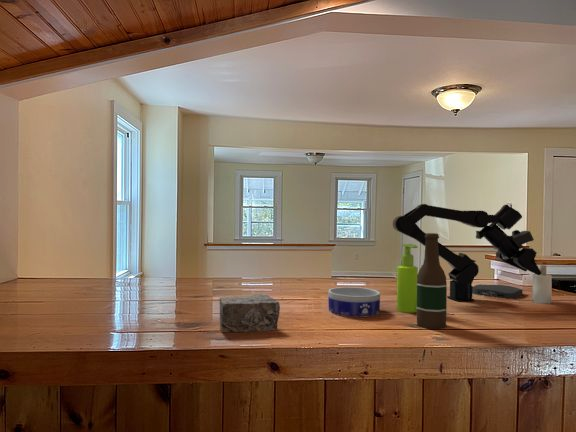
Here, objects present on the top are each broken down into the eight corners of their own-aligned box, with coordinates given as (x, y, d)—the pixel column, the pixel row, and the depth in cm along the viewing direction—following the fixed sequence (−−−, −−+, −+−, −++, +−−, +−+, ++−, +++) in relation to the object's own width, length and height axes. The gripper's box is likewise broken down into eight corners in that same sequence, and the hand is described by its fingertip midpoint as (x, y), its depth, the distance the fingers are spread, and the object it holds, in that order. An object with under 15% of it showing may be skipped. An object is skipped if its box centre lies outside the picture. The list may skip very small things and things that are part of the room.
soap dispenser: (405, 314, 118) (406, 245, 118) (393, 308, 125) (393, 243, 125) (423, 313, 120) (423, 244, 120) (410, 307, 127) (410, 243, 126)
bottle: (541, 304, 134) (541, 266, 133) (528, 300, 139) (529, 264, 139) (555, 303, 135) (555, 266, 135) (542, 300, 140) (542, 264, 140)
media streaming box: (525, 295, 150) (525, 287, 150) (511, 300, 140) (511, 292, 140) (484, 289, 161) (484, 282, 161) (468, 294, 151) (468, 286, 151)
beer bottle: (422, 320, 112) (422, 232, 112) (451, 325, 107) (452, 233, 107) (410, 325, 106) (411, 233, 106) (441, 331, 101) (441, 234, 101)
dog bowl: (364, 304, 132) (364, 285, 132) (390, 315, 117) (390, 294, 117) (320, 307, 127) (320, 287, 127) (341, 319, 112) (341, 297, 112)
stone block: (270, 321, 109) (270, 293, 109) (279, 330, 101) (280, 299, 101) (217, 325, 105) (217, 295, 105) (222, 335, 96) (222, 303, 96)
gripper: (529, 223, 128) (567, 258, 127) (505, 222, 147) (537, 253, 146) (503, 247, 129) (540, 283, 128) (482, 243, 148) (514, 274, 147)
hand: (533, 272), depth 137 cm, fingers open, 9 cm apart
